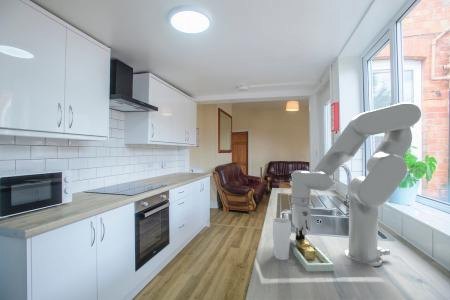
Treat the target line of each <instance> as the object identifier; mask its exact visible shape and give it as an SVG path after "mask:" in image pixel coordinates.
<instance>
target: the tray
mask: <svg viewBox="0 0 450 300" xmlns="http://www.w3.org/2000/svg"><path fill="white" fill-rule="evenodd" d="M293 254H294V256H295V257H296V259H297V260H298V261H299V263H300V265H301V266H302V267H303V269H305V271H306V272H334V271H335V264H334V262H332V261H331V259H330V258H328V257H327V256H326V255H325V253H323V252H322V250H321V249H319V247H316V246H315V256H317V257H318V259H319V260H321V262H309V261H308V260H306V259H305V258H304V257H303V256H302V254H301V253H300V252H299V250H298V249H297V248H294V251H293Z"/></svg>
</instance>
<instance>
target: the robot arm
mask: <svg viewBox="0 0 450 300" xmlns="http://www.w3.org/2000/svg"><path fill="white" fill-rule="evenodd" d="M421 117H422V111H421V109H420V107H419V106H418V105H417V104H414V103H412V102H401V103H397V104H392V105H389V106H386V107H382V108H378V109H373V110H370V111H369V110H368V111H365V112H362V113H360V114H357V115H356V116H354V117H353V118H352V119H351V120H350V121H349V122H348V124H347V125H346V126H345V128H344V129H343V131H342V132H341V134H340V135H339V136H338V137H337V139H336V140H335V142H334V143H333V145H331V147H330V148H329V149H328V150H327V151H326V154H325V155H323V156H322V159H320V161H319V162H318V164H317V165H316V166H315V168H314V169H313V170H312V172H310V171H307V170H298V169H297V170H293V172H292V173H291V198H290V199H291V202H290V203H291V205H292V209H291V212H292V213H291V224H292V225H293V226H294V227H295V228H294V229H295V240H305V237H306V235H307V231H312V215H311V212H312V211H311V207H310V206H311V198H312V197H311V196H312V195H311V194H312V192H311V191H312V190H314V191H319V192H325V191H329V190H330V189H331V188H332V187H333V184H334V182H333V175H334V174H335V173H336V172H337V170H338V169H340V168H341V166H342V165H344V164H346V163H347V162H349V161H350V160H351V159H353V158H354V157H355V156H356V154H357V153H358V151H359V150H360V148H361V147H362V146H363V144H364V143H365V142H366V141H367V139H368V138H369V136H375V135H379V134H380V135H381V134H384V135H383V138H382V140H381V141H380V143H379V145H378V146H377V148H376V149H375V150H374V151H373V153H372V154H371V156H370V157H369V159H368V160H367V161H366V166H365V167H366V170H367V172H368V174H367V175H366V176H364V175H362V176H357V177H354V178H353V179H351V180H350V182H349V184H348V187H347V188H348V189H347V194H348V195H347V196H348V208H349V210H348V213H349V214H348V248H347V249H345V250H344V254H345V256H347V258H350V259H352V260H353V261H357V262H358V263H362V264H369V265H370V266H372V267H378V266H382V264H383V258H382V256H390V254H391V251H390V250H389V249H383V248H382V247H380V246H379V247H378V241H379V240H378V239H379V235H378V234H379V207H382V206H383V205H385V203H387V201H389V199H390V198H391V197H392V196H393V194H394V193H395V192H396V190H397V188H398V187H399V186H400V185H401V183H402V182H403V181H404V179H405V177H406V175H407V172H408V164H407V162H406V160H405V159H404V157H405V155H406V153H407V152H408V150H409V149H410V148H411V145H412V143H413V142H412V141H413V132H412V129H411V127H413V126H414V125H415V124H417V123H418V122H419V121H420V119H421ZM295 243H296V241H295Z"/></svg>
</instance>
